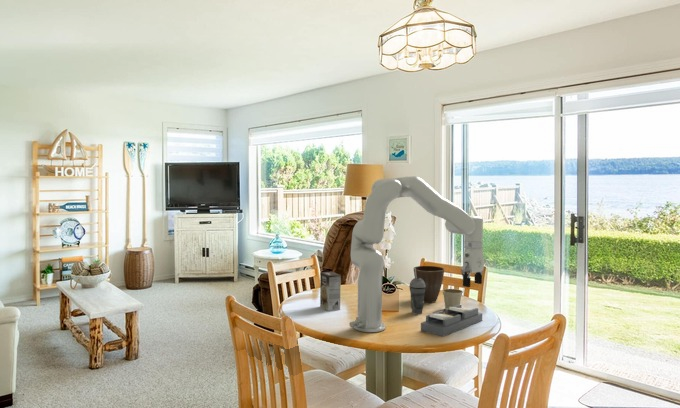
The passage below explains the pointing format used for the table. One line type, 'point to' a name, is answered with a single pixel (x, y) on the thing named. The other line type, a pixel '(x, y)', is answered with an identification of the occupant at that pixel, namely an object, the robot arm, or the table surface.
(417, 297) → the beverage cup
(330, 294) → the coffee box
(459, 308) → the outer rocker
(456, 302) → the flower pot
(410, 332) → the table surface
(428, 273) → the plant pot
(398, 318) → the table surface
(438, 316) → the inner rocker
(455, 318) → the switch panel
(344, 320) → the table surface
